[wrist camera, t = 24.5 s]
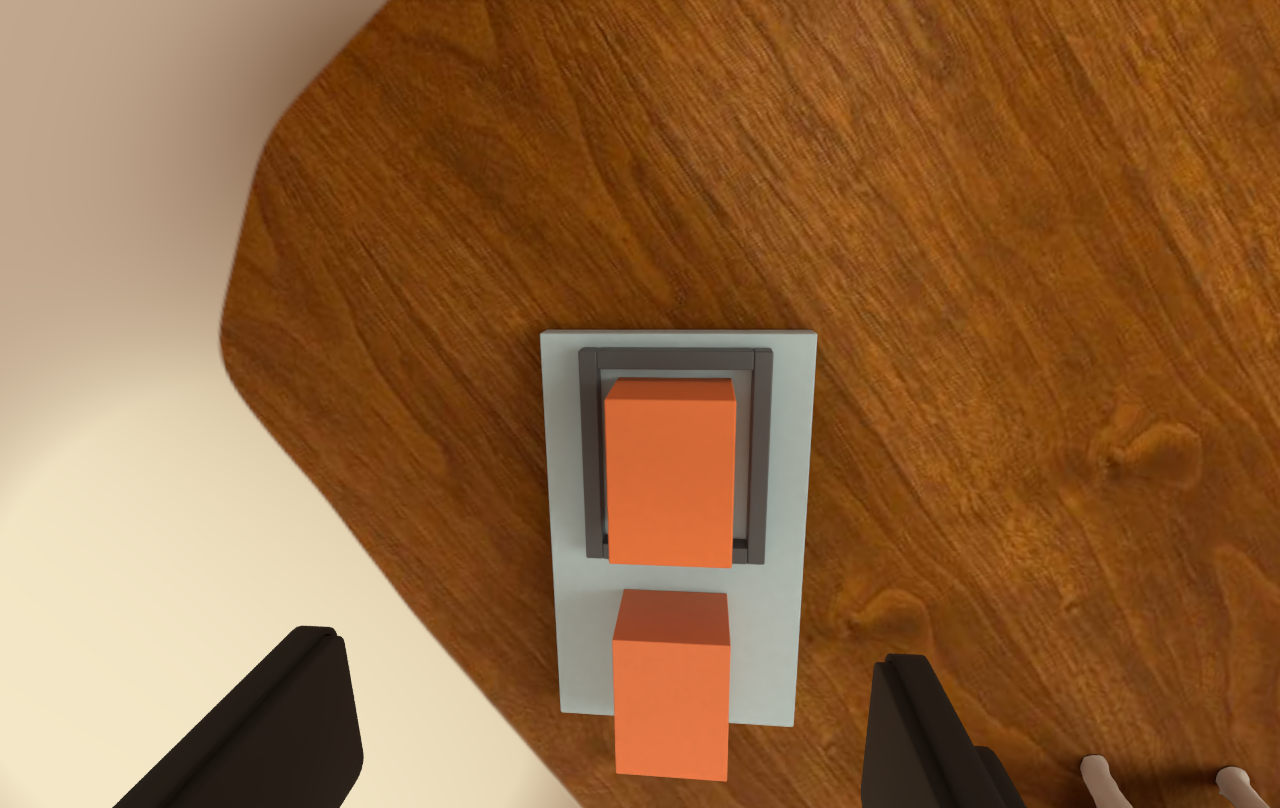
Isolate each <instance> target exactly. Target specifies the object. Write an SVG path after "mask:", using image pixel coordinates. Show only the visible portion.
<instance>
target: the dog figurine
mask: <svg viewBox="0 0 1280 808" xmlns="http://www.w3.org/2000/svg"><path fill="white" fill-rule="evenodd" d="M1080 769H1081V772H1082V777H1083V780H1084V782H1085V783H1086V785H1087V787H1088V789H1089V791H1090V793H1091V795H1092V796H1093V798H1094V801H1095V804H1096V806H1097V808H1133V807H1132V806H1131V804H1130V803H1129V802H1128V801H1127V800H1126V798H1125V797H1124V796H1123V794H1122V793H1121V792H1120V790H1119V789H1118V786H1117V784H1116V782H1115V781H1114V780H1113V778H1112V777H1111V775H1110V771H1109V765H1108V763H1107V761H1106V760H1105V758H1104V757H1103V756H1100V755H1090V756H1087V757H1084V758H1083V761H1082V763H1081V766H1080ZM1249 781H1250V780H1249V777H1248V775H1247V774H1246V772H1245V771H1244V770H1242V769H1240V768H1237V767H1226V768H1224V769H1222V770H1221V771H1219V773H1218V774H1217V777H1216V783H1217V784H1218V786H1219V788H1220V792H1219V794H1221V795H1223V796H1224V797H1225V798H1227V799H1228V800H1229V801H1230V802H1231V803H1232V804H1233V806H1234V807H1235V808H1270V807H1269V806H1268V805H1267V804H1266V803H1265V802H1264V801H1263V800H1262V799H1261V798H1260V797H1259V796H1258V794H1257V793H1256V792H1255V791H1254V790H1253V789H1252V787H1251V786H1250V784H1249Z"/></svg>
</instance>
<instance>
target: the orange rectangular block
mask: <svg viewBox="0 0 1280 808" xmlns="http://www.w3.org/2000/svg"><path fill="white" fill-rule="evenodd" d="M604 408H605V442H606V477H607V511H608V545H609V563H610V564H628V565H654V566H680V567H705V568H731V567H732V545H733V509H734V473H735V437H736V398H735V393H734V388H733V383H732V379H731V378H659V377H619V378H618V379H617V381H616V382H615V384H614V385H613V387H612V389H611V390H610V392H609V393H608V395H607V397H606V398H605V400H604Z"/></svg>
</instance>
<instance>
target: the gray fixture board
mask: <svg viewBox="0 0 1280 808" xmlns="http://www.w3.org/2000/svg"><path fill="white" fill-rule="evenodd" d="M540 347H541V365H542V382H543V400H544V418H545V436H546V454H547V472H548V490H549V508H550V526H551V544H552V562H553V580H554V598H555V616H556V634H557V652H558V669H559V687H560V705H561V712H567V713H582V714H598V715H614V720H615V755H616V773H619V774H633V775H646V776H660V777H674V778H687V779H701V780H714V781H727V761H728V726H729V723H739V724H755V725H771V726H786V727H793V725H794V709H795V693H796V676H797V660H798V644H799V627H800V611H801V594H802V578H803V562H804V545H805V529H806V512H807V496H808V480H809V463H810V447H811V430H812V414H813V398H814V381H815V365H816V348H817V334H816V333H815V332H814V331H813V330H546V331H544V332H542V333H540ZM619 377H659V378H731V379H732V383H733V388H734V393H735V398H736V437H735V473H734V509H733V545H732V567H731V568H705V567H680V566H654V565H628V564H610V563H609V545H608V511H607V477H606V442H605V408H604V400H605V398H606V397H607V395H608V393H609V392H610V390H611V389H612V387H613V385H614V384H615V382H616V381H617V379H618V378H619Z"/></svg>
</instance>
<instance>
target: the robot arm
mask: <svg viewBox="0 0 1280 808" xmlns="http://www.w3.org/2000/svg"><path fill="white" fill-rule="evenodd" d="M363 758H364V757H363V748H362V742H361V736H360V730H359V725H358V719H357V713H356V707H355V701H354V695H353V689H352V683H351V677H350V671H349V666H348V660H347V654H346V648H345V643H344V639H343V638H342V637H340V636H337V633H336V631H335V630H334V629H333V628H331V627H318V626H299V627H296V628H295V629H294V630H292V631H291V632H290V633H289V634H288V635H287V636H286V637H285V638H284V639H283V640H282V641H281V642H280V643H279V644H278V645H277V646H276V647H275V648H274V649H273V650H272V651H271V652H270V653H269V654H268V655H267V656H266V657H265V658H264V659H263V660H262V661H261V662H260V663H259V664H258V665H257V666H256V667H255V668H254V669H253V670H252V671H251V672H250V673H249V674H248V675H247V676H246V677H245V678H244V679H243V680H242V681H241V682H240V683H239V684H238V685H236V686H235V687H234V689H233V690H231V691H230V693H228V694H227V695H226V696H225V697H224V698H223V699H222V700H221V701H220V702H219V703H218V704H217V705H216V706H215V707H214V708H213V709H212V710H211V711H210V712H209V713H208V714H207V715H206V716H205V717H204V718H203V719H202V720H201V721H200V722H199V723H198V724H197V725H196V726H195V727H194V728H193V729H192V730H191V731H190V732H189V733H188V734H187V735H186V736H185V737H184V738H183V739H182V740H181V741H180V742H179V743H178V744H177V745H176V746H175V747H174V748H172V749H171V751H169V753H167V754H166V755H165V756H164V758H162V759H161V760H160V761H159V762H158V763H157V764H156V765H155V766H154V767H153V768H152V769H151V770H150V771H149V772H148V773H147V774H146V775H145V776H144V777H143V778H142V779H141V780H140V781H139V782H138V783H137V784H136V785H135V786H134V787H133V788H132V789H131V790H130V791H129V792H128V793H127V794H126V795H125V796H124V797H123V798H122V799H121V800H120V801H119V802H118V803H117V804H116V805H115V806H114V807H113V808H340V806H341V805H342V803H343V801H344V800H345V798H346V797H347V795H348V793H349V792H350V790H351V789H352V787H353V785H354V784H355V782H356V780H357V779H358V777H359V775H360V772H361V769H362V765H363ZM861 800H862V808H1026V806H1025V804H1024V802H1023V800H1022V799H1021V797H1020V795H1019V793H1018V792H1017V790H1016V788H1015V786H1014V785H1013V783H1012V781H1011V779H1010V778H1009V776H1008V774H1007V772H1006V771H1005V769H1004V767H1003V765H1002V764H1001V762H1000V760H999V759H998V757H997V756H996V755H995V753H994V752H993V751H992V750H991V749H989V748H988V747H983V746H974V745H973V744H972V742H971V740H970V738H969V736H968V734H967V732H966V731H965V729H964V727H963V725H962V723H961V721H960V719H959V717H958V716H957V714H956V712H955V710H954V708H953V706H952V704H951V703H950V701H949V699H948V697H947V695H946V693H945V691H944V689H943V688H942V686H941V684H940V682H939V680H938V678H937V676H936V674H935V673H934V671H933V669H932V667H931V665H930V663H929V661H928V660H927V658H926V657H925V656H923V655H910V654H887V656H886V658H885V663H884V662H877V663H875V665H874V671H873V680H872V690H871V699H870V708H869V718H868V727H867V737H866V746H865V755H864V765H863V774H862V784H861Z"/></svg>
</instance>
